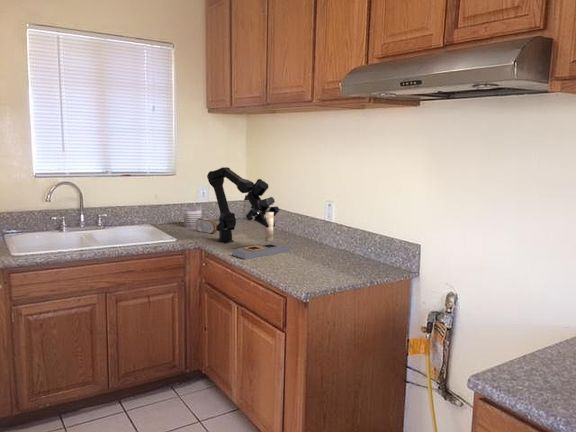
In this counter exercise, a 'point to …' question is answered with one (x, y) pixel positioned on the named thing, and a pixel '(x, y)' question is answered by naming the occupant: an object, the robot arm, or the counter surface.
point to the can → (191, 216)
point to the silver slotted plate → (260, 250)
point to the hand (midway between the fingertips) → (271, 226)
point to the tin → (206, 225)
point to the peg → (269, 231)
